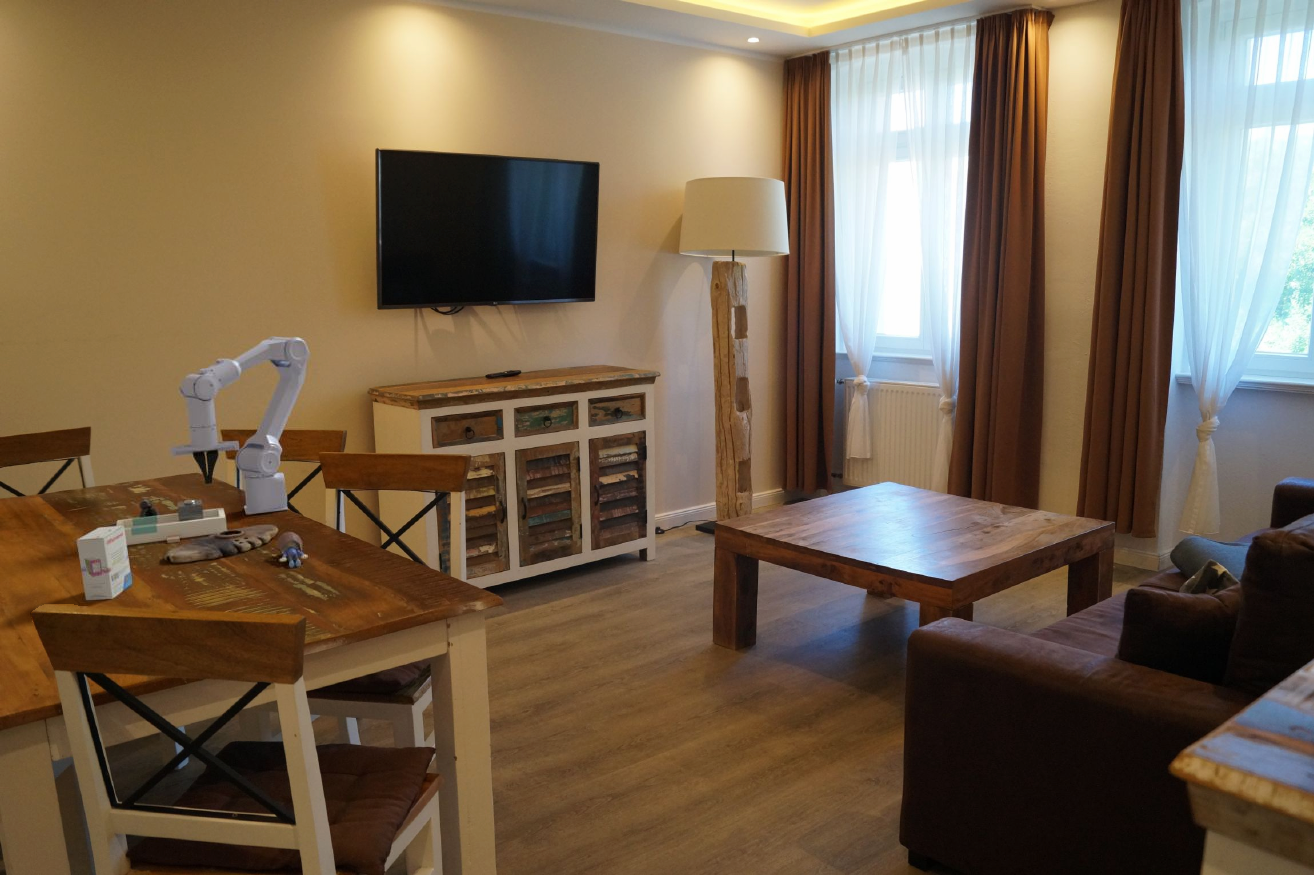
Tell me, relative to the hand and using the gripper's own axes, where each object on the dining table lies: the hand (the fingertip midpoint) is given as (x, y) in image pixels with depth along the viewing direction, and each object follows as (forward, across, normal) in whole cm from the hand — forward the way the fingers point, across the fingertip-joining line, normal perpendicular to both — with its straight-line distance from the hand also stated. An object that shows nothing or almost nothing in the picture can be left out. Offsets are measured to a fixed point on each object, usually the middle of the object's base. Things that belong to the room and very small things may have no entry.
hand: (208, 482), depth 227 cm
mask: (+10, -1, +24) cm, 26 cm away
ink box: (+10, +20, +44) cm, 50 cm away
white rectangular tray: (+10, +9, +7) cm, 15 cm away
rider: (+8, +5, +6) cm, 11 cm away
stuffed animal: (+10, +14, -7) cm, 19 cm away
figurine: (+10, -12, +41) cm, 44 cm away
